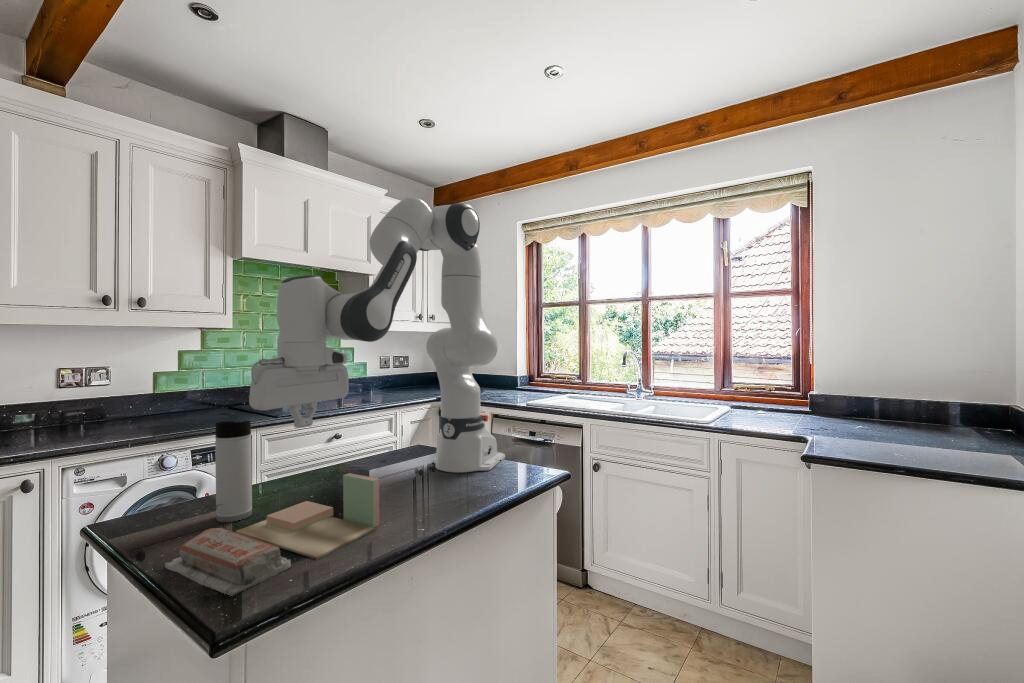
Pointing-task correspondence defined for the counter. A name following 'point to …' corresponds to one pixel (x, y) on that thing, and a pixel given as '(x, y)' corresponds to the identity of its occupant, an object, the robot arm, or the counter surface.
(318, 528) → the cork mat
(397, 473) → the counter surface
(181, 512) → the counter surface
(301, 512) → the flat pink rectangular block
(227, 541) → the packaged product
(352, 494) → the pink and green block
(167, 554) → the counter surface
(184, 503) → the counter surface
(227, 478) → the travel mug
